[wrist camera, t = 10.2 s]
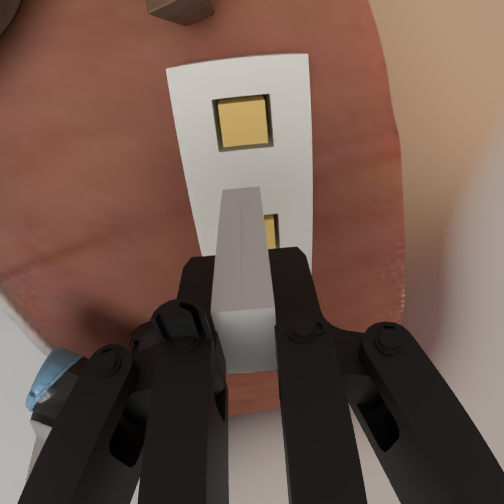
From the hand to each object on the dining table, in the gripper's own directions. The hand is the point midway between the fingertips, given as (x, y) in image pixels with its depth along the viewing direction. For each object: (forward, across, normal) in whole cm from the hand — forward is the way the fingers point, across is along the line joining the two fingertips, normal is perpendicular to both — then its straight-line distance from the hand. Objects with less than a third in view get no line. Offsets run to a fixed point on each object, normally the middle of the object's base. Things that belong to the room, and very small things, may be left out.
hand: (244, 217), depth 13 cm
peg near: (+24, 0, 0) cm, 24 cm away
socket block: (+24, 0, +6) cm, 25 cm away
